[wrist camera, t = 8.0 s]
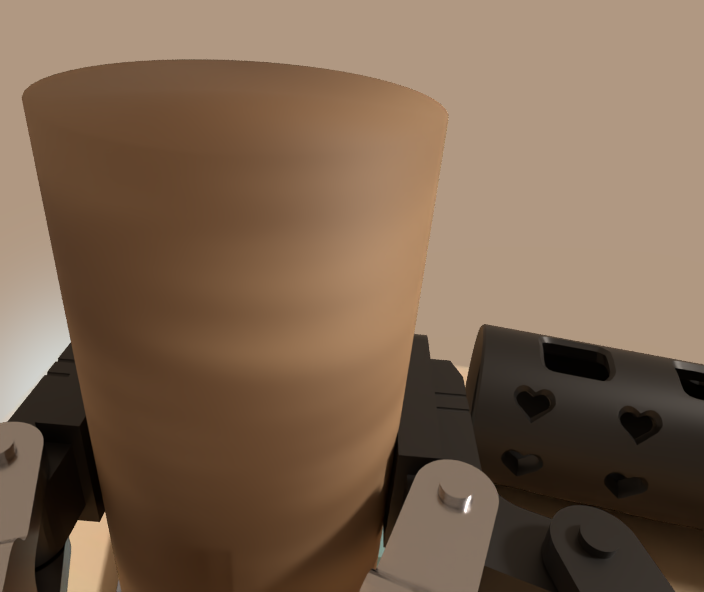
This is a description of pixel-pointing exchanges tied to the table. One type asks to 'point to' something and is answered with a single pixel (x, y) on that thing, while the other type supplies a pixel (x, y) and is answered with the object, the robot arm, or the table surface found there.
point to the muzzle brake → (589, 423)
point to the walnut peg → (239, 307)
